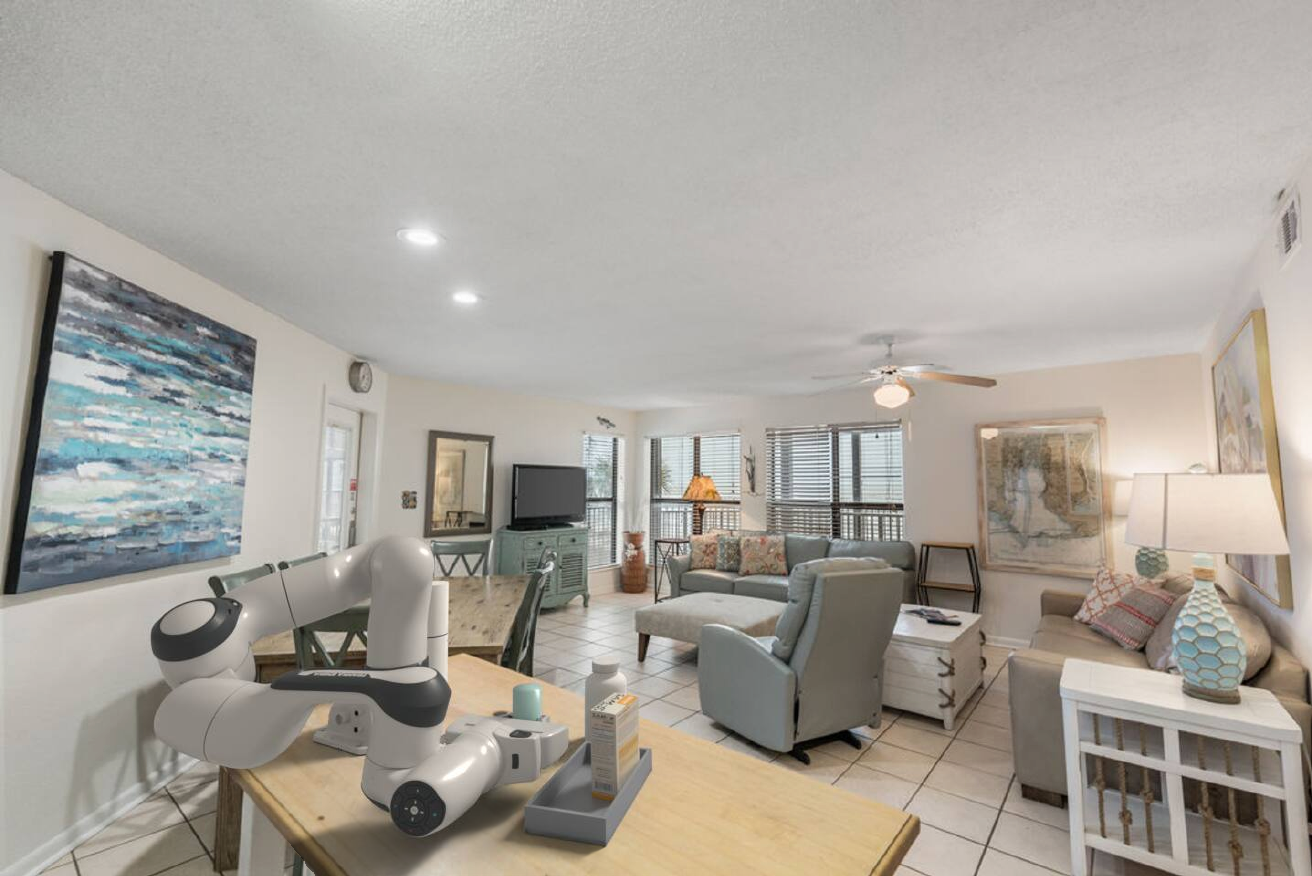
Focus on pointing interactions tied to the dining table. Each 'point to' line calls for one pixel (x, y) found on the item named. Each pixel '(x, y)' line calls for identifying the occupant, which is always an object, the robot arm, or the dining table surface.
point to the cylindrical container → (438, 627)
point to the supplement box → (614, 744)
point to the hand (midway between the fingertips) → (529, 717)
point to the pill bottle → (602, 685)
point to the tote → (582, 801)
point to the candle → (527, 701)
